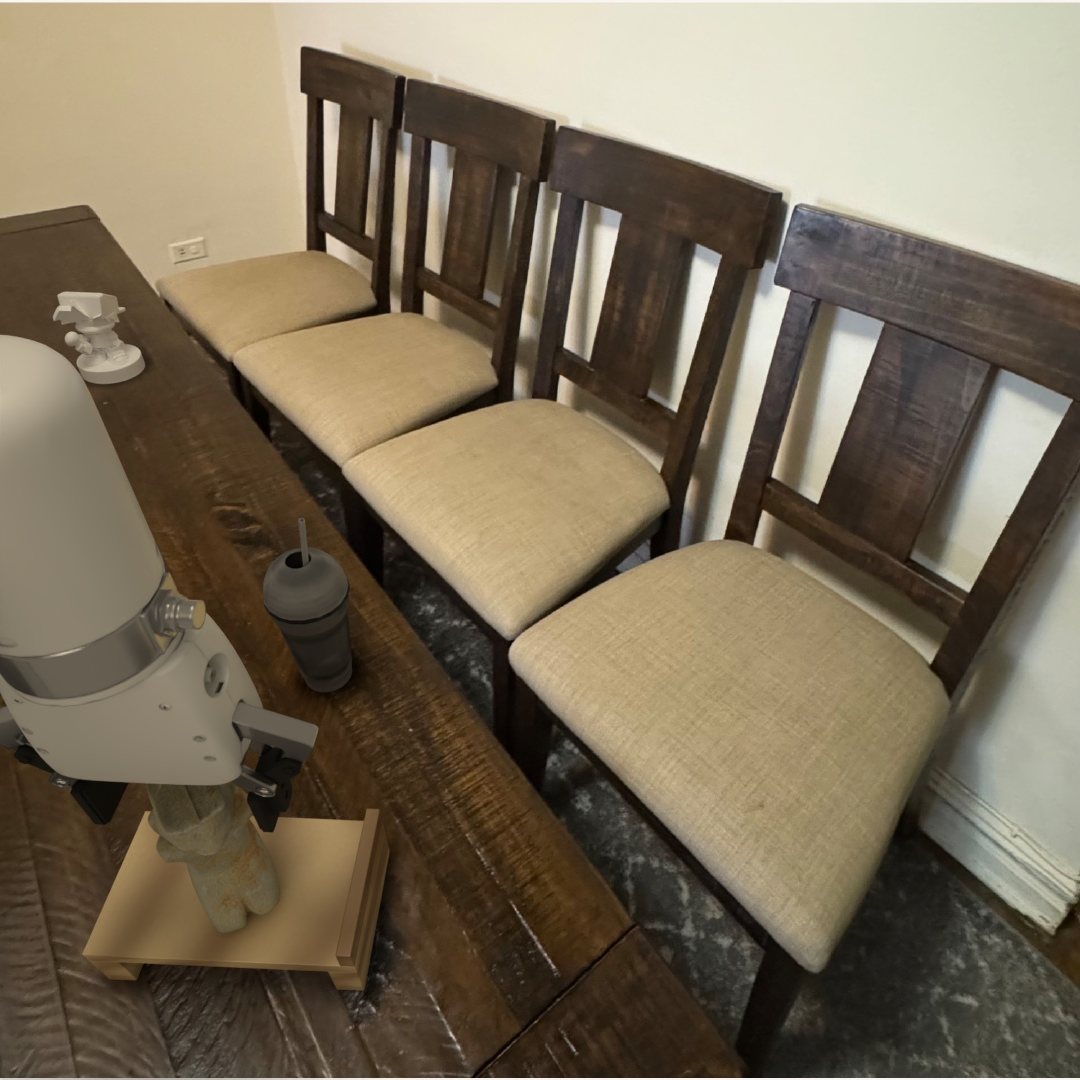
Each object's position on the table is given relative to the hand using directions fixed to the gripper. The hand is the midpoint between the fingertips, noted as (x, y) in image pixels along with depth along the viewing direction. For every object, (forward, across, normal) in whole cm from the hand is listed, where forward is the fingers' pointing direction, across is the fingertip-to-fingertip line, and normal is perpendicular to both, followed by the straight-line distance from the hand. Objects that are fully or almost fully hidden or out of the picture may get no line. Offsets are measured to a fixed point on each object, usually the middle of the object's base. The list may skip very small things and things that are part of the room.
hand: (195, 805), depth 44 cm
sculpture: (+12, 0, 0) cm, 12 cm away
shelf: (+16, 0, 0) cm, 17 cm away
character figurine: (+17, +45, -76) cm, 90 cm away
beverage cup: (+17, 0, -22) cm, 28 cm away
